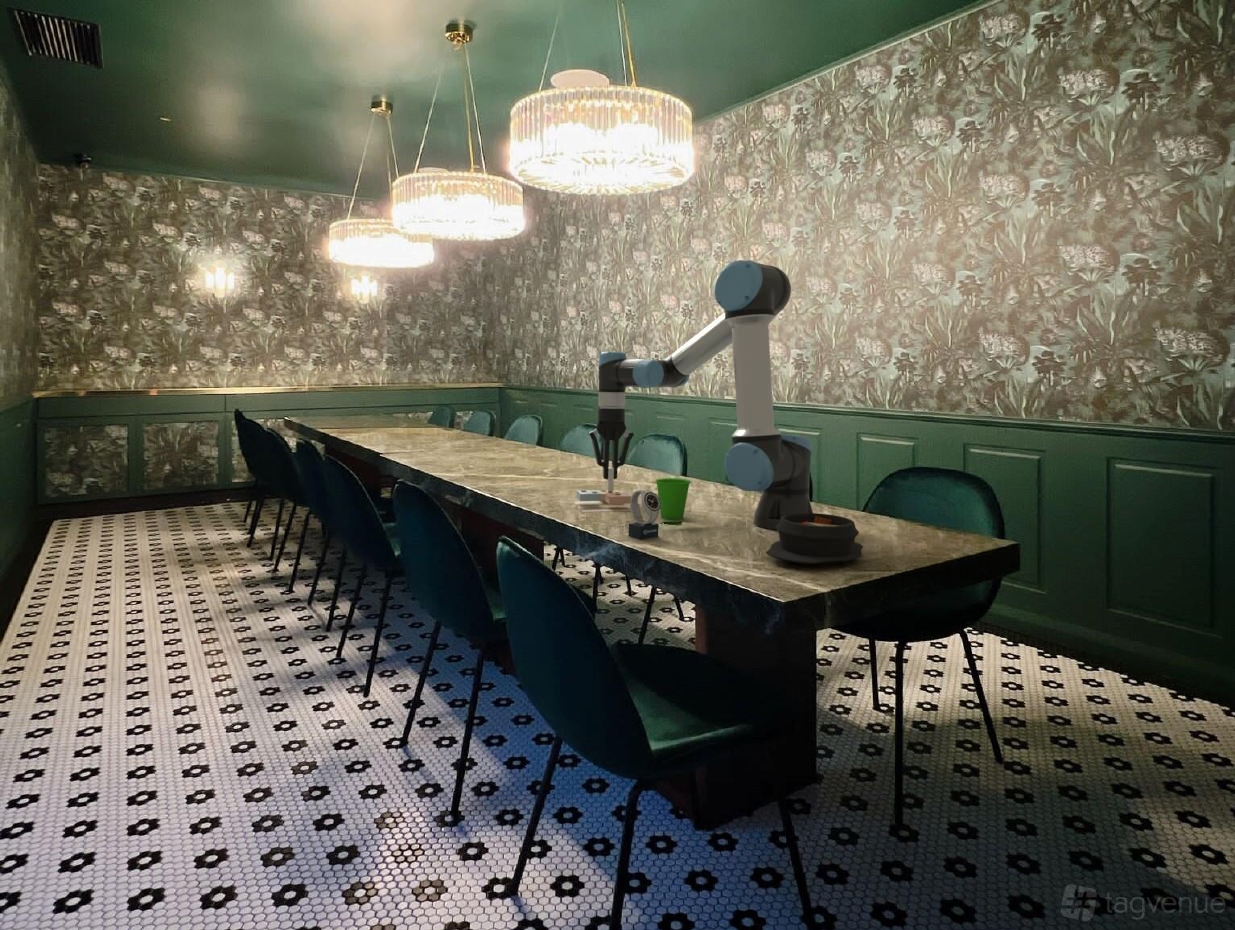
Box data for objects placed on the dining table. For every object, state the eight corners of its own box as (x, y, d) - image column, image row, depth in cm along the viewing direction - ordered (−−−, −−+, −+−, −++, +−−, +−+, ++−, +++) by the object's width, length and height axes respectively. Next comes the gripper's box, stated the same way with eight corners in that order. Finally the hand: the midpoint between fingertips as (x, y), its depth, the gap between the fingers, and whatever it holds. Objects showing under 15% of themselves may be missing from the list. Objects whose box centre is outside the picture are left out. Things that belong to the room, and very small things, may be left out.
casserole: (806, 541, 174) (808, 506, 173) (883, 556, 161) (886, 518, 160) (744, 560, 156) (746, 520, 155) (826, 578, 143) (828, 535, 142)
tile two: (601, 500, 205) (601, 492, 205) (580, 501, 204) (580, 493, 203) (597, 497, 211) (597, 489, 211) (576, 497, 210) (576, 489, 209)
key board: (637, 515, 201) (637, 510, 201) (582, 517, 198) (582, 511, 197) (622, 503, 219) (622, 498, 219) (571, 504, 216) (571, 499, 216)
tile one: (631, 503, 202) (631, 495, 201) (609, 504, 200) (609, 495, 200) (626, 499, 207) (626, 491, 207) (604, 500, 206) (604, 492, 206)
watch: (646, 541, 171) (647, 493, 170) (623, 534, 178) (624, 488, 176) (664, 538, 175) (665, 491, 173) (641, 532, 181) (642, 486, 180)
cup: (687, 527, 187) (689, 484, 185) (651, 525, 189) (652, 482, 187) (691, 520, 196) (692, 479, 194) (657, 518, 197) (658, 477, 196)
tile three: (622, 500, 211) (622, 492, 211) (601, 501, 210) (601, 493, 210) (618, 497, 217) (618, 489, 217) (597, 497, 216) (597, 489, 216)
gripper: (631, 406, 215) (629, 488, 219) (586, 406, 213) (585, 488, 216) (637, 408, 208) (635, 492, 211) (591, 407, 205) (589, 493, 208)
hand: (609, 490), depth 214 cm, fingers closed
